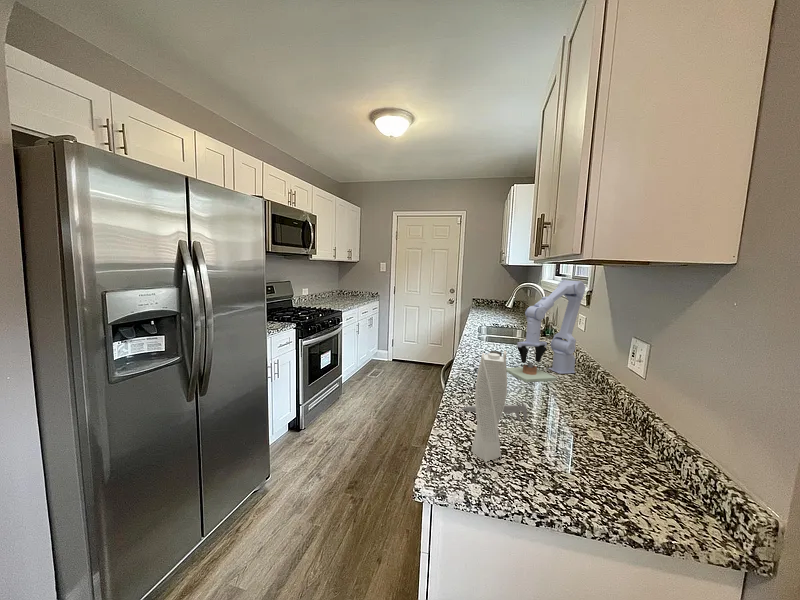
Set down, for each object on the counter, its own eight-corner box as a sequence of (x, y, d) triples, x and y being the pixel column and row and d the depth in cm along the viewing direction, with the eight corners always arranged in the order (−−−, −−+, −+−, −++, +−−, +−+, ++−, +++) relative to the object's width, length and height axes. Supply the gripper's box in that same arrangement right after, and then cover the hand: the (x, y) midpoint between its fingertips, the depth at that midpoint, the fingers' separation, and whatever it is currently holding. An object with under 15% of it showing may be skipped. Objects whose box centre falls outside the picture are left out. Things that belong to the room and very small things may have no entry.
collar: (531, 370, 156) (531, 364, 156) (538, 374, 151) (539, 368, 150) (520, 371, 155) (521, 364, 154) (528, 375, 149) (528, 368, 149)
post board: (532, 369, 163) (533, 357, 162) (556, 380, 148) (557, 367, 147) (504, 370, 158) (505, 358, 158) (525, 382, 143) (527, 369, 142)
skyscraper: (508, 459, 84) (518, 351, 81) (486, 467, 80) (496, 353, 77) (486, 444, 91) (494, 343, 88) (465, 450, 87) (472, 345, 84)
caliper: (525, 421, 107) (527, 402, 106) (526, 422, 106) (527, 403, 105) (461, 409, 113) (463, 391, 113) (461, 410, 112) (462, 392, 112)
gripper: (525, 334, 145) (522, 365, 146) (552, 334, 149) (549, 364, 151) (515, 331, 152) (512, 360, 153) (541, 331, 156) (539, 359, 157)
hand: (530, 362), depth 152 cm, fingers open, 7 cm apart
